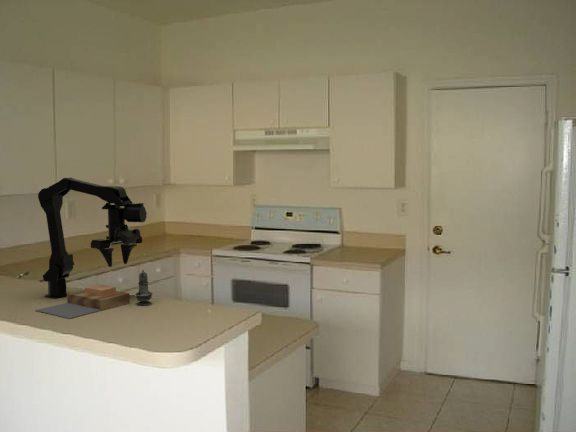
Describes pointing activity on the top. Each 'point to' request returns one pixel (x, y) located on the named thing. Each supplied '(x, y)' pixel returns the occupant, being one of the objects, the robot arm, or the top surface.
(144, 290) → the dark grey chess piece
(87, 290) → the tile
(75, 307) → the mat
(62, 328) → the top surface
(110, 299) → the board
